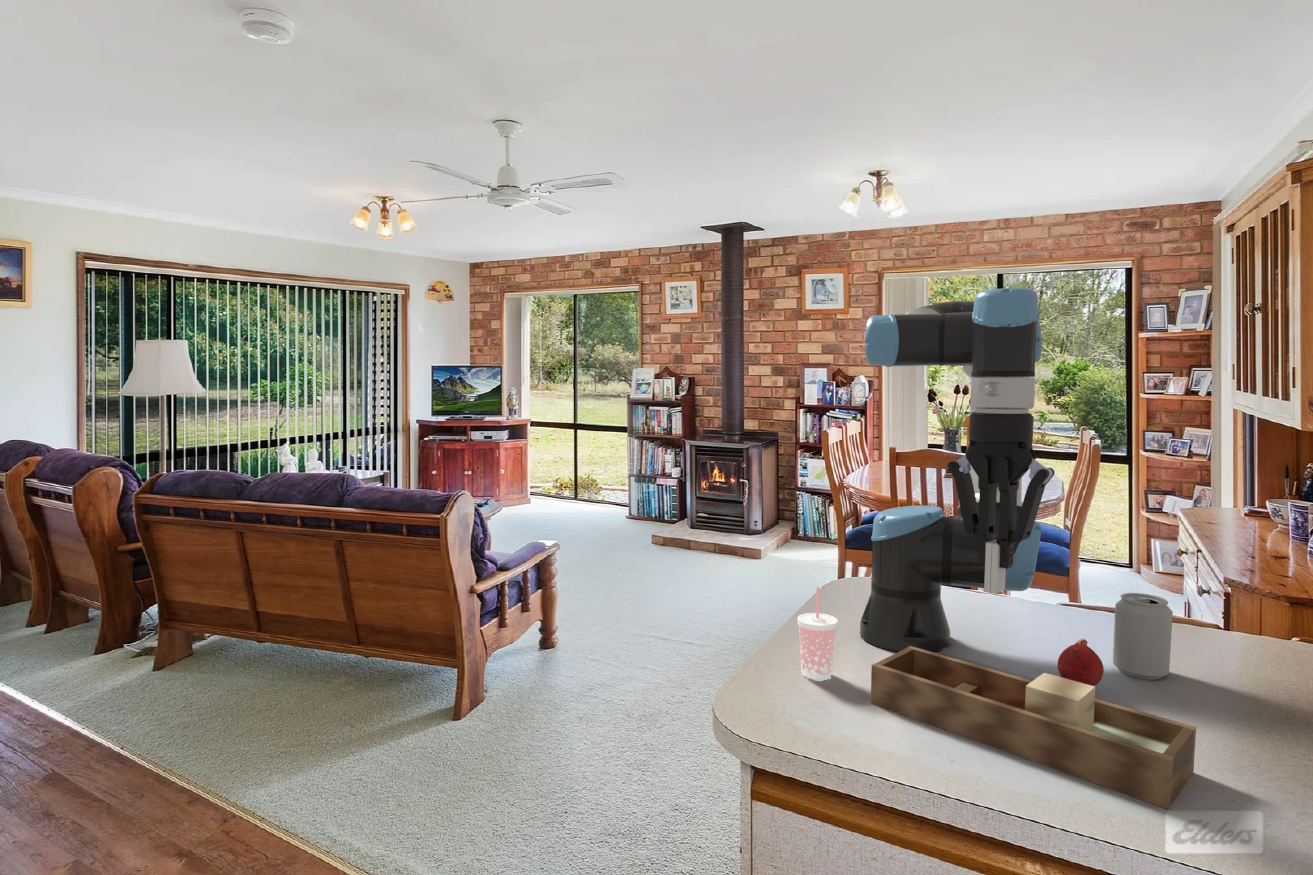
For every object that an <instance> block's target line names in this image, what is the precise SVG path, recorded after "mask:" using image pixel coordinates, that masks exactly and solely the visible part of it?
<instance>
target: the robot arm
mask: <svg viewBox="0 0 1313 875" xmlns="http://www.w3.org/2000/svg"><path fill="white" fill-rule="evenodd" d="M1038 298H1039V297H1038V293H1037V292H1036V291H1035V290H1034V289H1031V288H1025V287H1024V288H1023V287H1014V288H1013V287H1012V288H1011V287H1010V288H1008V287H1007V288H1005V287H1004V288H992V289H991V288H990V289H986V290H981V291H979V292H977V293H976V295H975V297H974V299H973V300H971V301H969V300H967V301H964V300H963V301H944V302H937V303H932V304H928V305H924V306H920V307H917V308H913V309H911V310H908V311H906V312H905V313H904V314H903V313H901V314H900V313H899V314H893V313H886V314H884V315H883V314H882V315H872V316H870V317H869V318H868V320H866V321H867V322H866V325H865V332H864V356H865V359H866V362H867V363H868V364H869V365H871V366H878V367H880V366H881V367H882V366H883V367H887V368H892V367H916V366H918V367H920V366H923V367H924V366H925V367H926V366H940V367H941V366H942V367H943V366H947V367H948V366H953V367H954V366H962V371H963V372H964V374H965V375H966V376H968V377H969V379H970V397H969V398H970V399H969V407H970V408H969V420H968V421H969V423H968V424H969V425H968V426H969V427H968V446H967V448H966V450H965V454H964V455H963V456H962V457H959V459H957V460H953V461H949V462H948V464H947V467H948V470H949V472H950V473H951V476H952V477H953V478H954V484H955V487H956V492H957V498H958V504H959V505H958V506H957V508H956V509H957V510H956V511H957V512H956V516H946V515H945V512H944V510H943V508H941V506H940V507H939V506H937V505H924V504H923V505H919V504H918V505H907V506H906V505H905V506H897V507H892V508H888V509H884V510H882V511H879V512H878V513H877V514H876V515H875V516H874V518H873V522H872V523H873V524H872V535H871V537H870V538H871V541H872V542H871V546H872V547H871V578H870V579H871V582H870V583H871V585H870V586H871V587H870V595H869V596H868V599H867V603H866V605H865V609H864V611H863V613H862V616H861V619H860V622H859V623H860V624H859V635H860V634H861V635H860V637H861V636H862V637H861V639H863V638H864V639H865V640H866V641H865V640H864V639H863V640H864V641H865V642H867V643H869V642H870V643H869V644H871V643H872V644H871V645H873V644H874V645H873V646H876V647H878V646H879V647H878V648H881V649H885V650H889V651H893V652H894V651H895V652H899V651H901V650H903V649H905V648H907V647H909V646H912V647H916V648H920V649H923V650H927V651H930V652H934V653H936V652H938V651H942V650H945V649H946V648H948V647H949V646H950V645H951V628H950V627H949V622H948V619H947V616H946V613H945V609H944V606H943V603H942V598H941V592H942V591H941V590H942V585H946V586H957V587H966V588H976V589H983V592H985V593H990V594H995V595H997V594H999V593H1001V592H1003V591H1006V592H1008V591H1009V592H1024V591H1026V590H1028V589H1029V588H1030V587H1031V586H1032V584H1033V579H1034V576H1035V572H1036V566H1037V561H1038V555H1039V550H1040V549H1039V548H1040V542H1041V536H1042V534H1041V532H1042V524H1041V523H1040V522H1037V521H1036V518H1037V514H1038V511H1039V508H1040V505H1041V502H1042V498H1043V494H1044V492H1045V488H1046V486H1047V484H1048V483H1049V482H1050V480H1052V478H1053V477H1054V475H1055V474H1056V473H1055V469H1054V468H1052V467H1046V466H1045V465H1044V464H1042V463H1040V462H1039V461H1038V460H1036V459H1037V458H1036V457H1037V456H1036V454H1035V451H1034V449H1033V440H1034V418H1035V417H1034V415H1033V414H1032V413H1031V412H1030V410H1032V409H1033V408H1034V407H1035V392H1036V391H1035V390H1036V388H1035V386H1036V378H1035V377H1036V363H1038V362H1040V360H1041V358H1042V348H1043V347H1042V338H1041V337H1042V330H1041V324H1040V323H1041V322H1040V313H1039V309H1038V308H1039V307H1038V306H1039V305H1038V304H1039V303H1038V300H1039V299H1038ZM1028 471H1030V472H1029V474H1028V478H1029V479H1030V481H1029V482H1028V485H1027V487H1026V491H1025V494H1024V497H1023V498H1024V499H1023V498H1022V494H1023V493H1022V490H1023V488H1022V485H1023V484H1022V481H1023V477H1024V475H1025V474H1026V473H1027V472H1028ZM1022 499H1023V501H1022Z"/></svg>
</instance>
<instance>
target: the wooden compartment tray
mask: <svg viewBox="0 0 1313 875" xmlns="http://www.w3.org/2000/svg"><path fill="white" fill-rule="evenodd" d="M870 673H871V674H870V675H871V677H870V678H871V682H870V685H871V686H870V703H871V704H874V705H876V706H879V707H882V708H884V709H887V710H890V711H893V712H894V713H895V712H896V713H899V714H901V715H905V716H907V717H909V718H912V719H915V720H918V721H921V722H924V723H926V724H929V725H932V726H934V727H937V728H940V729H944V730H946V731H949V732H951V733H954V734H957V735H960V736H963V737H966V738H968V739H971V740H974V741H977V742H979V743H981V744H985V745H987V746H991V747H994V748H997V749H999V750H1000V751H1001V750H1002V751H1004V752H1007V753H1010V754H1014V755H1015V756H1019V757H1021V758H1025V759H1027V760H1029V761H1032V762H1035V763H1038V764H1041V765H1044V766H1047V767H1049V768H1053V769H1055V770H1058V771H1060V772H1063V773H1066V774H1069V775H1071V776H1074V777H1077V778H1079V779H1083V780H1086V781H1088V782H1091V783H1094V784H1097V785H1099V786H1102V787H1105V788H1107V789H1111V790H1114V791H1117V792H1118V793H1120V794H1121V793H1122V794H1124V795H1128V796H1130V797H1133V798H1135V799H1138V800H1141V801H1144V802H1146V803H1149V804H1152V805H1156V806H1158V807H1160V808H1164V809H1166V810H1169V809H1170V807H1171V806H1172V805H1173V803H1174V801H1175V800H1176V799H1177V797H1178V796H1179V795H1180V793H1181V791H1182V790H1183V788H1184V787H1185V785H1186V784H1187V783H1188V781H1189V780H1188V779H1190V778H1192V777H1191V776H1192V775H1193V774H1194V770H1195V769H1194V768H1195V751H1196V737H1197V735H1196V734H1197V727H1196V726H1193V725H1190V724H1186V723H1183V722H1179V721H1176V720H1172V719H1170V718H1169V719H1168V718H1165V717H1161V716H1158V715H1154V714H1152V713H1148V712H1144V711H1141V710H1138V709H1133V708H1129V707H1126V706H1122V705H1121V704H1120V705H1119V704H1116V703H1112V702H1108V701H1106V700H1103V699H1099V698H1095V705H1094V725H1093V726H1092V727H1091V728H1090V729H1089V730H1086V729H1083V728H1080V727H1076V726H1073V725H1070V724H1067V723H1064V722H1060V721H1057V720H1054V719H1051V718H1048V717H1045V716H1041V715H1038V714H1035V713H1032V712H1029V711H1025V695H1026V685H1028V684H1029V683H1030V682H1032V681H1033V679H1032V680H1031V679H1028V678H1024V677H1021V676H1018V675H1013V674H1011V673H1008V672H1004V671H1000V670H997V669H992V668H989V667H986V666H982V665H980V664H976V663H972V662H969V661H965V660H961V659H957V658H954V657H952V656H951V657H950V656H947V655H943V654H941V653H937V652H930V651H927V650H923V649H920V648H916V647H912V646H909V647H907V648H905V649H903V650H901V651H896V652H895V653H894V654H891V655H889V656H887V657H885V658H882V659H881V660H879V661H877V662H875V663H873V664H871V672H870Z"/></svg>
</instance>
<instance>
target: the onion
mask: <svg viewBox="0 0 1313 875" xmlns="http://www.w3.org/2000/svg"><path fill="white" fill-rule="evenodd" d="M1057 671H1058V674H1059V677H1062V678H1066V679H1069V680H1073V681H1077V682H1080V683H1084V684H1087V685H1091V686H1095V687H1096V686H1097V685H1098V684H1099V683H1100V682H1101V680H1102V678H1103V676H1104V664H1103V662H1102V660H1101V658H1100V657H1099V655H1098V654H1097V653H1096V652H1095V650H1093V649H1092V648H1091V647H1089V646H1088V640H1087V639H1085V638H1080V639H1078V640H1077V641H1076V643H1074V644H1071V645H1070V646H1068V647H1066V648H1065V649H1064V650H1063V651H1062V652H1061V653H1060V655H1059V656H1058V659H1057Z"/></svg>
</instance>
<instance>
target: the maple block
mask: <svg viewBox="0 0 1313 875" xmlns="http://www.w3.org/2000/svg"><path fill="white" fill-rule="evenodd" d="M1095 699H1096V685H1095V686H1091V685H1087V684H1084V683H1080V682H1077V681H1073V680H1069V679H1066V678H1062V677H1061V676H1058V675H1054V674H1051V673H1048V672H1043V673H1042V674H1040V675H1039V676H1037V677H1036V678H1034V680H1033V679H1032V682H1030V683H1029V684H1028V685H1026V695H1025V711H1029V712H1032V713H1035V714H1038V715H1041V716H1045V717H1048V718H1051V719H1054V720H1057V721H1060V722H1064V723H1067V724H1070V725H1073V726H1076V727H1080V728H1083V729H1086V730H1089V729H1090V728H1091V727H1092V726H1093V725H1094V705H1095Z"/></svg>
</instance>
